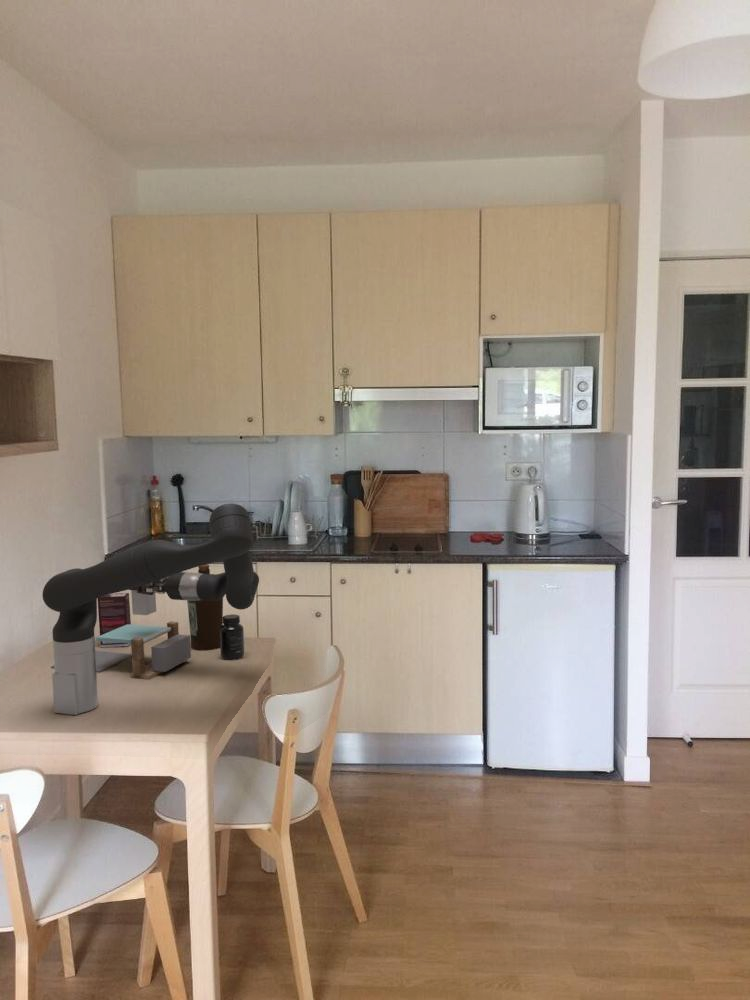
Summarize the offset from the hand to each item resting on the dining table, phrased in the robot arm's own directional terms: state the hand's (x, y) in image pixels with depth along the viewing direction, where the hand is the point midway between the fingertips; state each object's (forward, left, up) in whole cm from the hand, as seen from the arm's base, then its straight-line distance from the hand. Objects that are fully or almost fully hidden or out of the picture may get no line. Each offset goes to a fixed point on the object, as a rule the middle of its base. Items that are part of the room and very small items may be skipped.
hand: (134, 583), depth 212 cm
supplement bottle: (+16, -21, -24) cm, 35 cm away
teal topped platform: (+2, -1, -22) cm, 22 cm away
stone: (0, -3, -8) cm, 8 cm away
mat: (+2, +16, -24) cm, 29 cm away
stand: (+2, -6, -24) cm, 24 cm away
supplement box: (+18, +20, -24) cm, 36 cm away
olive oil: (+24, -8, -24) cm, 34 cm away
